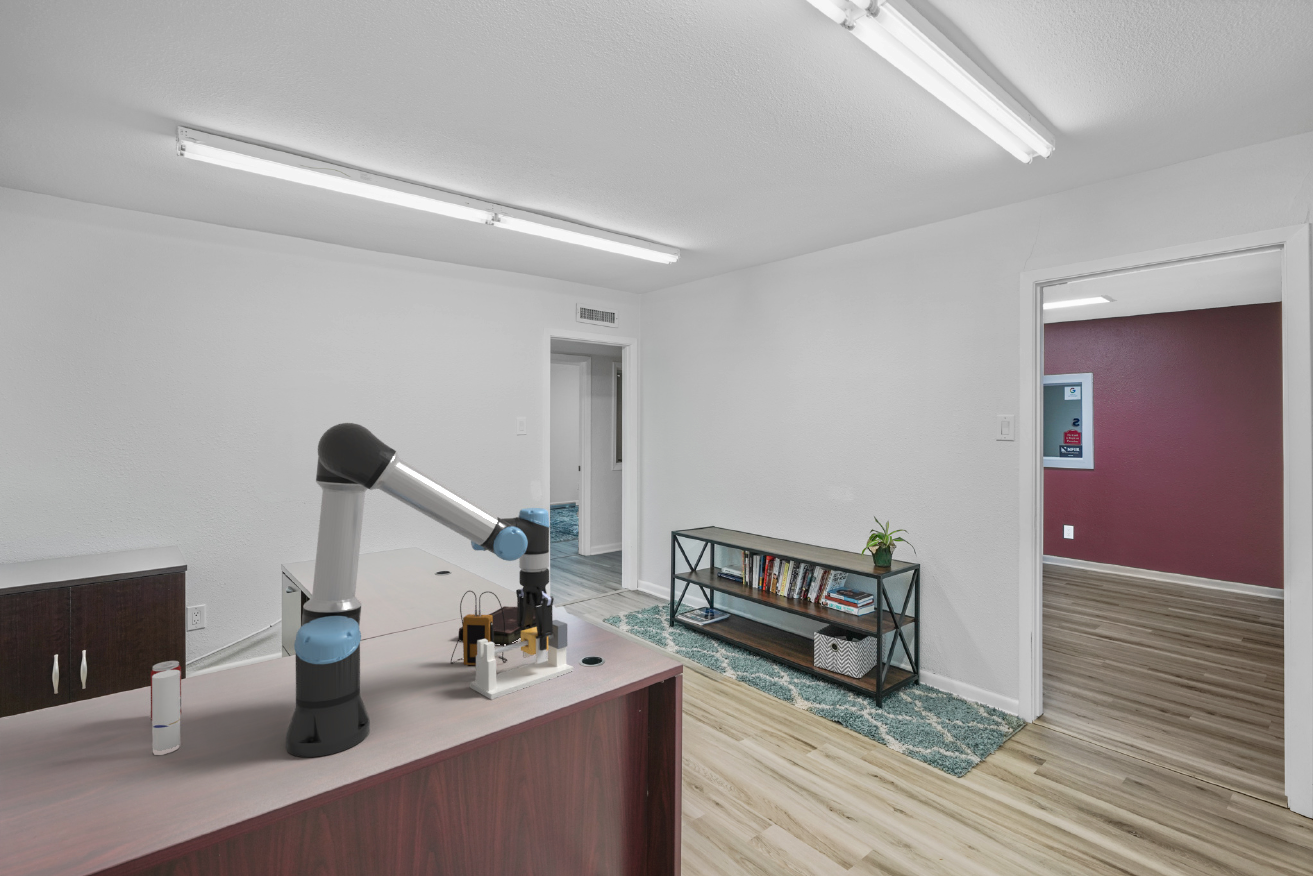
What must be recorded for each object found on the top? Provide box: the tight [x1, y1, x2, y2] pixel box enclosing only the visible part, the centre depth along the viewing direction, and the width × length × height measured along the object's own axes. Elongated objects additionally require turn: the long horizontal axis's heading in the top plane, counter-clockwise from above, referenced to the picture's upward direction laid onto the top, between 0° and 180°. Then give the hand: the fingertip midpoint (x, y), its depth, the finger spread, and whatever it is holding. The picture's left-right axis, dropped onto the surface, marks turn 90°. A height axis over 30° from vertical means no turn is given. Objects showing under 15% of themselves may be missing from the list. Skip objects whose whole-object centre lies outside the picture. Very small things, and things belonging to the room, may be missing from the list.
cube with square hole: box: [520, 627, 548, 656], centre depth 159 cm, size 5×5×5 cm
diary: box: [458, 606, 536, 646], centre depth 196 cm, size 19×25×5 cm
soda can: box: [150, 660, 182, 719], centre depth 135 cm, size 5×5×12 cm
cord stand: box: [469, 619, 574, 700], centre depth 157 cm, size 24×10×12 cm, turn 135°
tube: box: [151, 670, 181, 751], centre depth 122 cm, size 4×4×15 cm
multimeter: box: [450, 590, 508, 666], centre depth 171 cm, size 15×10×20 cm
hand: (534, 659), depth 159 cm, fingers closed on cube with square hole, 5 cm apart
